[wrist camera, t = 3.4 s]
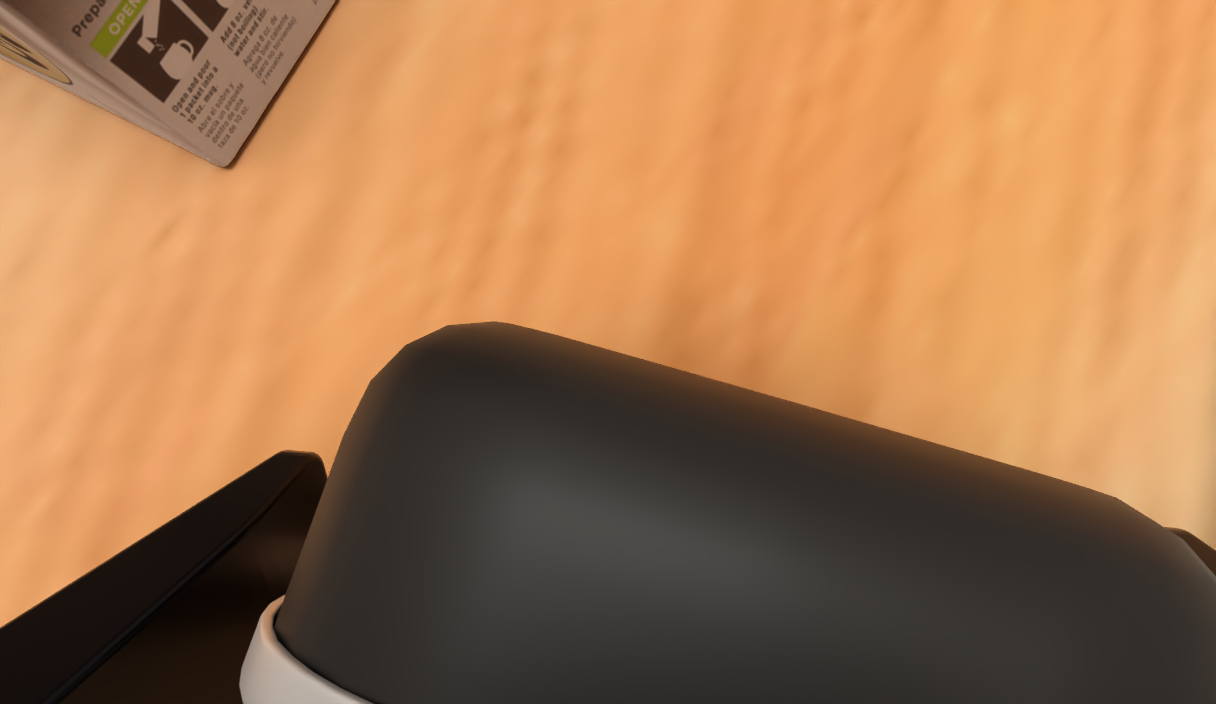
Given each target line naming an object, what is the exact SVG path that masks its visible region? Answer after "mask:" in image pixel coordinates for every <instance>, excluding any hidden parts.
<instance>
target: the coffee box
mask: <svg viewBox="0 0 1216 704" xmlns="http://www.w3.org/2000/svg"><path fill="white" fill-rule="evenodd" d="M335 1H336V0H0V58H2V59H4V60H6V61H8V62H10V63H12V64H14V65H16V66H18V67H20V68H22V69H24V70H26V71H28V72H30V73H32V74H34V75H36V76H38V77H40V78H42V79H44V80H46V81H48V82H50V83H52V84H54V85H56V86H58V87H60V88H62V89H64V90H66V91H68V92H70V93H72V94H74V95H76V96H78V97H80V98H82V99H84V100H86V101H88V102H90V103H92V104H94V105H96V106H98V107H100V108H102V109H104V110H107V111H109V112H111V113H113V114H115V115H117V116H119V117H121V118H123V119H125V120H127V121H129V122H131V123H133V124H135V125H137V126H139V127H141V128H143V129H145V130H147V131H149V132H151V133H153V134H155V135H157V136H159V137H161V138H163V139H165V140H167V141H169V142H171V143H173V144H175V145H177V146H179V147H181V148H183V149H185V150H187V151H189V152H191V153H193V154H195V155H197V156H199V157H201V158H203V159H205V160H207V161H209V162H211V163H213V164H215V165H217V166H220V167H225V166H227V165H229V163H230V162H231V161H232V159H233V158H234V157H235V155H236V154H237V152H238V151H239V149H240V147H241V146H242V144H243V143H244V141H245V140H246V138H247V137H248V135H249V134H250V132H251V131H252V129H253V128H254V126H255V125H256V123H257V121H258V120H259V118H260V117H261V115H262V113H263V112H264V110H265V109H266V107H267V105H268V104H269V102H270V101H271V99H272V98H273V96H274V95H275V93H276V92H277V90H278V89H279V87H280V86H281V84H282V83H283V81H284V80H285V78H286V77H287V75H288V73H289V72H290V70H291V69H292V67H293V66H294V64H295V63H296V61H297V60H298V58H299V56H300V55H301V53H302V52H303V50H304V49H305V47H306V46H307V44H308V43H309V41H310V40H311V38H312V36H313V35H314V33H315V32H316V30H317V29H318V27H319V26H320V24H321V23H322V21H323V19H324V18H325V16H326V15H327V13H328V12H329V10H330V9H331V7H332V6H333V4H334V2H335Z"/></svg>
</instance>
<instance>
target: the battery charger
mask: <svg viewBox="0 0 1216 704" xmlns="http://www.w3.org/2000/svg"><path fill="white" fill-rule="evenodd" d="M239 687H240V691H241V696H242V701H243V704H1216V576H1215V575H1214V574H1213V573H1212V571H1211V570H1210V569H1209V568H1208V567H1207V566H1206V565H1205V563H1204V562H1203V561H1202V560H1201V559H1200V558H1199V557H1198V555H1197V554H1196V553H1195V552H1194V551H1193V550H1192V549H1191V548H1190V546H1189V545H1188V544H1187V543H1186V542H1185V541H1184V540H1183V539H1182V538H1180V537H1179V536H1177V535H1175V534H1174V533H1172V532H1171V531H1169V530H1167V529H1166V528H1164V527H1163V526H1161V525H1159V524H1158V523H1156V522H1155V521H1153V520H1151V519H1150V518H1148V517H1147V516H1145V515H1143V514H1142V513H1140V512H1139V511H1137V510H1135V509H1134V508H1132V507H1131V506H1129V505H1127V504H1126V503H1124V502H1122V501H1121V500H1119V499H1117V498H1115V497H1112V496H1109V495H1106V494H1104V493H1101V492H1098V491H1095V490H1092V489H1089V488H1086V487H1082V486H1079V485H1076V484H1073V483H1069V482H1066V481H1063V480H1060V479H1056V478H1053V477H1050V476H1046V475H1043V474H1039V473H1036V472H1033V471H1029V470H1026V469H1022V468H1019V467H1015V466H1012V465H1009V464H1005V463H1002V462H998V461H995V460H991V459H988V458H984V457H981V456H977V455H974V454H970V453H967V452H964V451H960V450H957V449H953V448H950V447H946V446H943V445H939V444H936V443H932V442H929V441H926V440H922V439H919V438H915V437H912V436H908V435H905V434H901V433H898V432H894V431H891V430H888V429H884V428H881V427H877V426H874V425H870V424H867V423H863V422H860V421H856V420H853V419H850V418H846V417H843V416H839V415H836V414H832V413H829V412H825V411H822V410H818V409H815V408H811V407H808V406H805V405H801V404H798V403H794V402H791V401H787V400H784V399H780V398H777V397H773V396H770V395H766V394H762V393H759V392H755V391H752V390H748V389H745V388H741V387H738V386H734V385H731V384H727V383H724V382H720V381H717V380H713V379H710V378H706V377H703V376H699V375H696V374H692V373H689V372H685V371H681V370H678V369H674V368H671V367H667V366H664V365H660V364H657V363H653V362H650V361H646V360H643V359H639V358H636V357H632V356H629V355H625V354H622V353H618V352H615V351H611V350H608V349H604V348H601V347H597V346H593V345H590V344H586V343H583V342H579V341H576V340H572V339H569V338H565V337H561V336H558V335H554V334H550V333H546V332H542V331H538V330H534V329H530V328H526V327H522V326H518V325H513V324H509V323H502V322H483V323H471V324H459V325H448V326H445V327H443V328H441V329H439V330H437V331H435V332H433V333H430V334H428V335H426V336H424V337H422V338H420V339H418V340H416V341H413V342H411V343H409V344H407V345H405V346H404V347H403V348H402V349H401V350H400V351H399V352H398V354H397V355H396V356H395V357H394V358H393V359H392V360H391V361H390V362H389V363H388V364H387V365H386V366H385V367H384V368H383V369H382V370H381V371H380V372H379V373H378V374H377V375H376V376H375V377H374V378H373V379H372V380H371V381H370V383H369V385H368V387H367V389H366V391H365V393H364V395H363V397H362V399H361V401H360V403H359V405H358V407H357V409H356V411H355V413H354V415H353V417H352V419H351V421H350V423H349V425H348V427H347V429H346V431H345V433H344V435H343V438H342V441H341V444H340V446H339V449H338V452H337V455H336V457H335V460H334V463H333V466H332V468H331V471H330V474H329V477H328V479H327V482H326V485H325V488H324V490H323V493H322V496H321V498H320V501H319V504H318V507H317V509H316V512H315V515H314V518H313V520H312V523H311V526H310V529H309V531H308V534H307V537H306V540H305V542H304V545H303V548H302V551H301V553H300V556H299V559H298V562H297V564H296V567H295V570H294V573H293V575H292V578H291V581H290V584H289V586H288V589H287V592H286V594H285V595H284V596H282V597H280V598H278V599H277V600H275V601H273V602H272V603H270V604H269V606H268V607H267V608H266V609H265V611H264V612H263V613H262V615H261V616H260V619H259V622H258V624H257V627H256V630H255V633H254V635H253V638H252V641H251V643H250V646H249V649H248V652H247V654H246V657H245V660H244V662H243V665H242V669H241V676H240V683H239Z"/></svg>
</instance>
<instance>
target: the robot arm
mask: <svg viewBox="0 0 1216 704" xmlns="http://www.w3.org/2000/svg"><path fill="white" fill-rule="evenodd" d="M327 479H328V478H327V474H326V471H325V467H324V463H323V461H322V459H321V457H320V456H319V455H318V454H316V453H314V452H304V451H293V450H285V451H281V452H279V453H277V454H275V455H273V456H272V457H270V458H269V459H267V460H265V461H264V462H262V463H261V464H259V465H258V466H256V467H254V468H253V469H251V470H250V471H248V472H246V473H245V474H243V475H242V476H240V477H238V478H237V479H235V480H234V481H232V482H231V483H229V484H227V485H226V486H224V487H223V488H221V489H219V490H218V491H216V492H215V493H213V494H212V495H210V496H208V497H207V498H205V499H204V500H202V501H200V502H199V503H197V504H196V505H194V506H192V507H191V508H189V509H188V510H186V511H185V512H183V513H181V514H180V515H178V516H177V517H175V518H173V519H172V520H170V521H169V522H167V523H166V524H164V525H162V526H161V527H159V528H158V529H156V530H154V531H153V532H151V533H150V534H148V535H147V536H145V537H143V538H142V539H140V540H139V541H137V542H135V543H134V544H132V545H131V546H129V547H127V548H126V549H124V550H123V551H121V552H120V553H118V554H116V555H115V556H113V557H112V558H110V559H108V560H107V561H105V562H104V563H102V564H101V565H99V566H97V567H96V568H94V569H93V570H91V571H89V572H88V573H86V574H85V575H83V576H81V577H80V578H78V579H77V580H75V581H74V582H72V583H70V584H69V585H67V586H66V587H64V588H62V589H61V590H59V591H58V592H56V593H55V594H53V595H51V596H50V597H48V598H47V599H45V600H43V601H42V602H40V603H39V604H37V605H36V606H34V607H32V608H31V609H29V610H28V611H26V612H24V613H23V614H21V615H20V616H18V617H16V618H15V619H13V620H12V621H10V622H9V623H7V624H5V625H4V626H2V627H1V628H0V704H243V701H242V696H241V691H240V687H239V683H240V676H241V669H242V665H243V662H244V660H245V657H246V654H247V652H248V649H249V646H250V643H251V641H252V638H253V635H254V633H255V630H256V627H257V624H258V622H259V619H260V616H261V615H262V613H263V612H264V611H265V609H266V608H267V607H268V606H269V604H270V603H272V602H273V601H275V600H277V599H278V598H280V597H282V596H284V595H285V594H286V592H287V589H288V586H289V584H290V581H291V578H292V575H293V573H294V570H295V567H296V564H297V562H298V559H299V556H300V553H301V551H302V548H303V545H304V542H305V540H306V537H307V534H308V531H309V529H310V526H311V523H312V520H313V518H314V515H315V512H316V509H317V507H318V504H319V501H320V498H321V496H322V493H323V490H324V488H325V485H326V482H327ZM1164 528H1166V529H1167V530H1169V531H1171V532H1172V533H1174V534H1175V535H1177V536H1179V537H1180V538H1182V539H1183V540H1184V541H1185V542H1186V543H1187V544H1188V545H1189V546H1190V548H1191V549H1192V550H1193V551H1194V552H1195V553H1196V554H1197V555H1198V557H1199V558H1200V559H1201V560H1202V561H1203V562H1204V563H1205V565H1206V566H1207V567H1208V568H1209V569H1210V570H1211V571H1212V573H1213V574H1214V575H1215V576H1216V551H1215V550H1214V549H1212V548H1211V547H1210V546H1208V545H1207V544H1205V543H1204V542H1203V541H1201V540H1200V539H1198V538H1197V537H1195V536H1194V535H1192V534H1191V533H1189V532H1187V531H1185V530H1182V529H1178V528H1169V527H1164Z"/></svg>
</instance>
